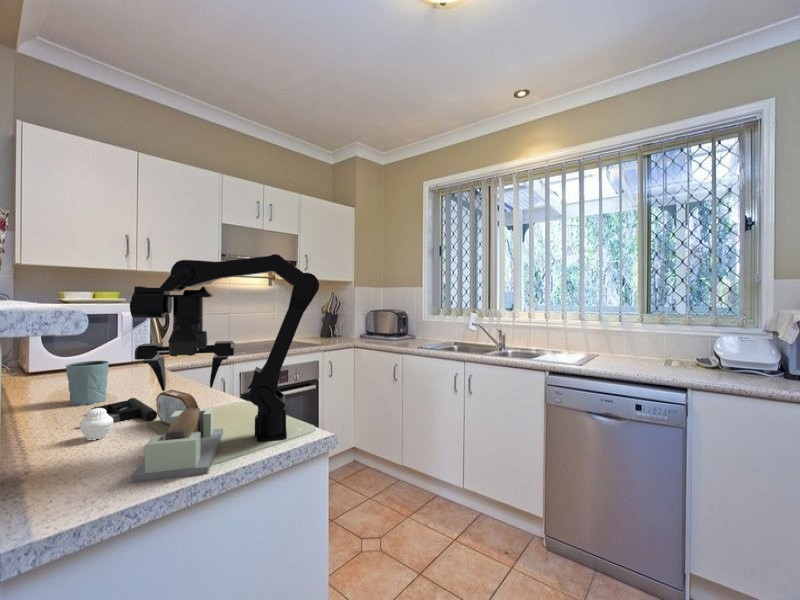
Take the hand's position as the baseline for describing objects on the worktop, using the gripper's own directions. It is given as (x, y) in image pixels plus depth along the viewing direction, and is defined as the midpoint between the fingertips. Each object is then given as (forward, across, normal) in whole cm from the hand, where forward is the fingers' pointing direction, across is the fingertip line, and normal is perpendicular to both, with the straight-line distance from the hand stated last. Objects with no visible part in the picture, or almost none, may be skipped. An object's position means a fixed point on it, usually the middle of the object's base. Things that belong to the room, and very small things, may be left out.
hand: (187, 389), depth 85 cm
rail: (+11, 0, -6) cm, 12 cm away
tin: (+12, -5, +15) cm, 20 cm away
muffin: (+12, -20, +11) cm, 26 cm away
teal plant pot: (+12, -34, +48) cm, 61 cm away
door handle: (+13, -21, +27) cm, 37 cm away
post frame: (+12, 0, -6) cm, 14 cm away
